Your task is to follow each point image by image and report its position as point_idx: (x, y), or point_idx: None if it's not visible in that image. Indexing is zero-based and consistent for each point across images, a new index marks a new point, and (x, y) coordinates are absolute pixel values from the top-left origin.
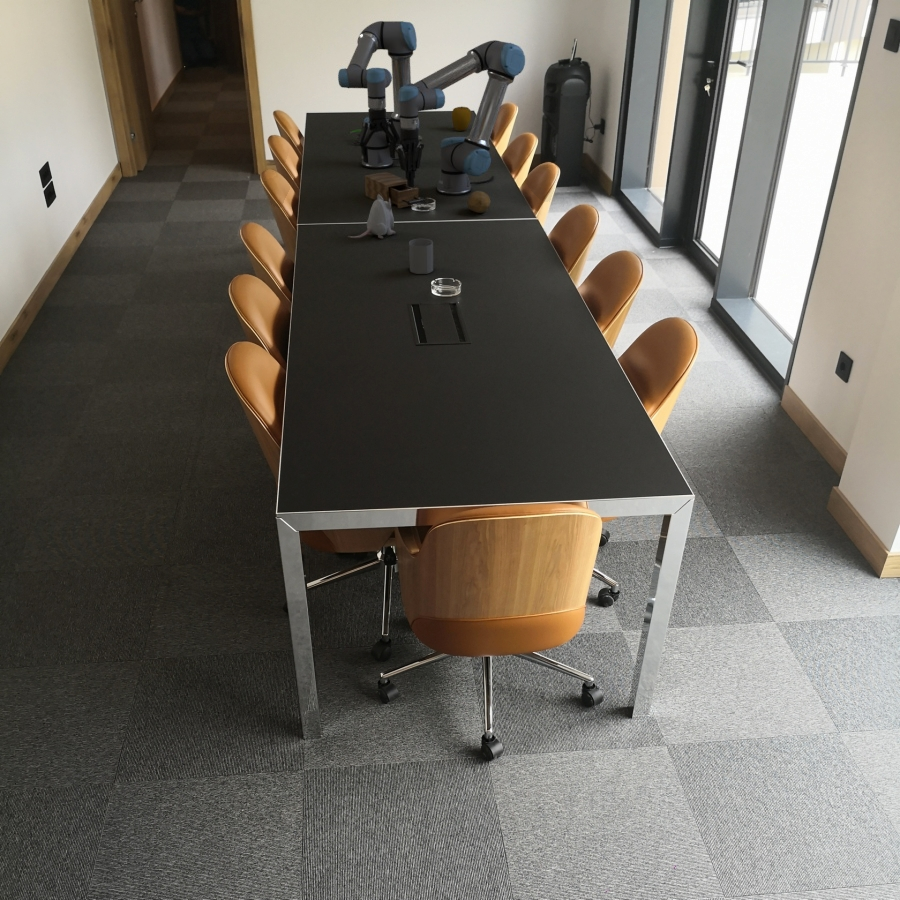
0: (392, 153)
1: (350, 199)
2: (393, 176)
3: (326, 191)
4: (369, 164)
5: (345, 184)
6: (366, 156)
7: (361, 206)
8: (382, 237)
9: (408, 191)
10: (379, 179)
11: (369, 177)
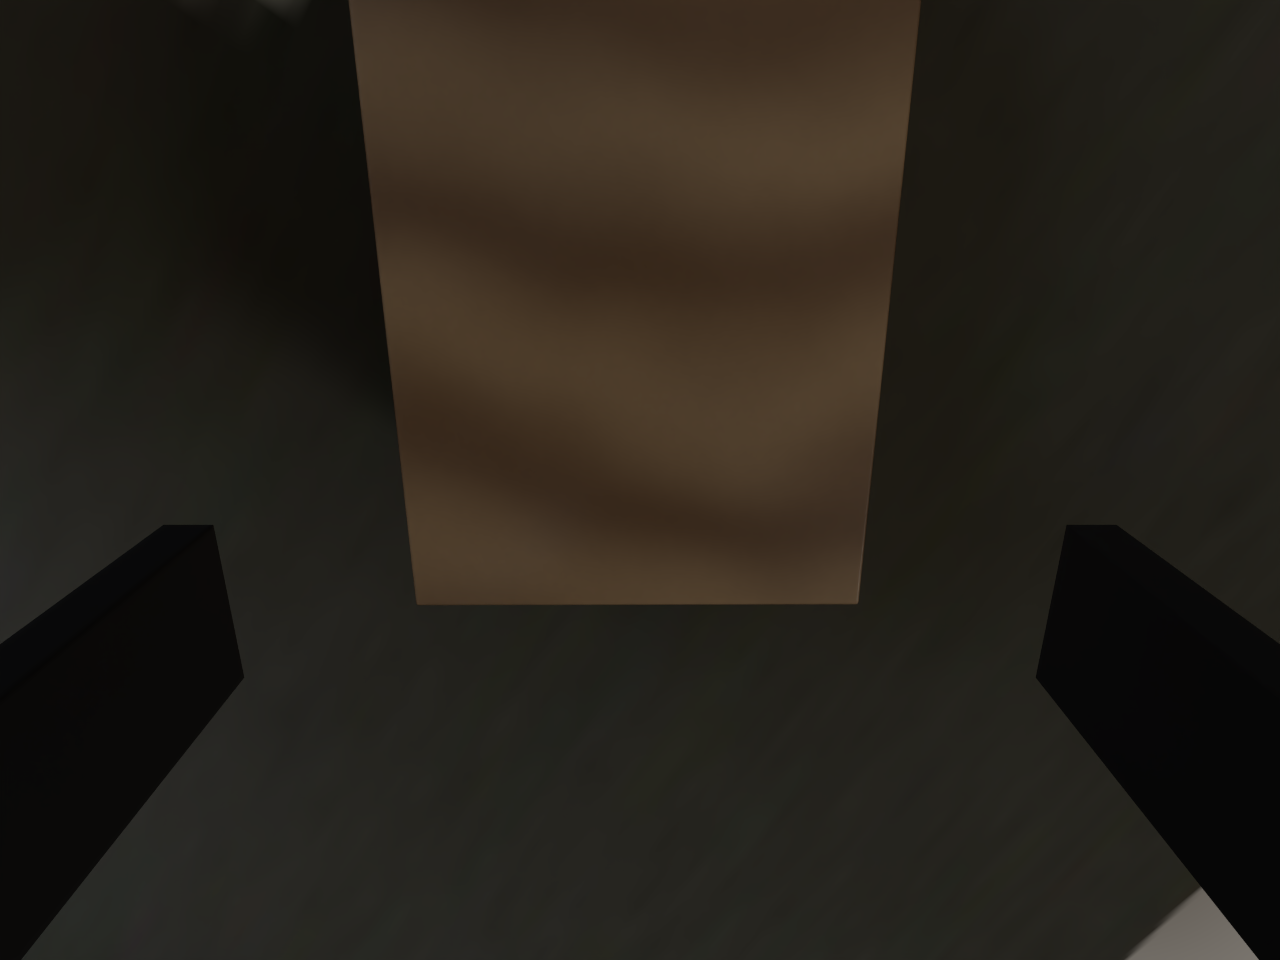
0: (150, 633)
1: (1022, 469)
2: (447, 266)
3: (1018, 840)
4: None
5: (720, 924)
6: (1242, 617)
7: (1128, 111)
8: None
9: None
10: (795, 243)
11: (860, 471)
